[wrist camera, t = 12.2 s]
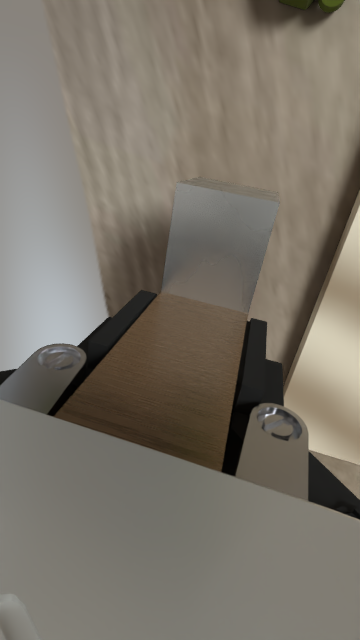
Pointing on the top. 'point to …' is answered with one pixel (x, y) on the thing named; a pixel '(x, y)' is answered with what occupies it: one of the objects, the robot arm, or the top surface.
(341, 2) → the gun
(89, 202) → the top surface
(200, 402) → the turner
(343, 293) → the board
